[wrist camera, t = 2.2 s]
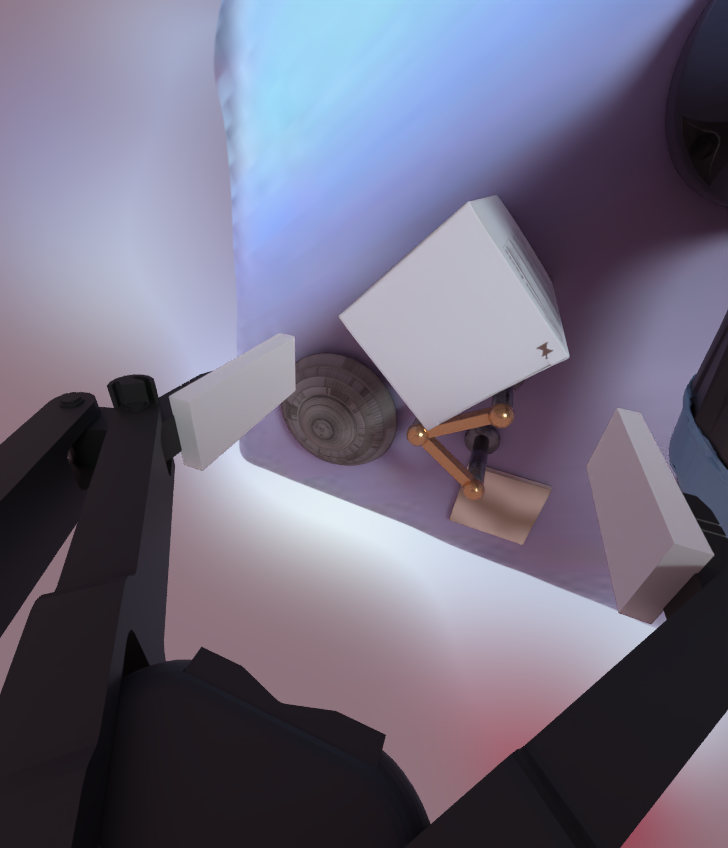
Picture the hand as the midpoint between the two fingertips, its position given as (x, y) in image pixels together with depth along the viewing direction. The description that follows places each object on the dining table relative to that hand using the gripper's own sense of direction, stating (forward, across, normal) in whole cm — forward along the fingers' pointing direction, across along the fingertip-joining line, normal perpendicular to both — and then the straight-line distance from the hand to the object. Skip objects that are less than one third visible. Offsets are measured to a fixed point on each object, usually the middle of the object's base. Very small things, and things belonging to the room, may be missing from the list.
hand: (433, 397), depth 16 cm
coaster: (+23, +8, -24) cm, 34 cm away
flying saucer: (+23, -13, -16) cm, 31 cm away
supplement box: (+23, -1, +1) cm, 23 cm away
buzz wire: (+23, +1, -11) cm, 25 cm away
